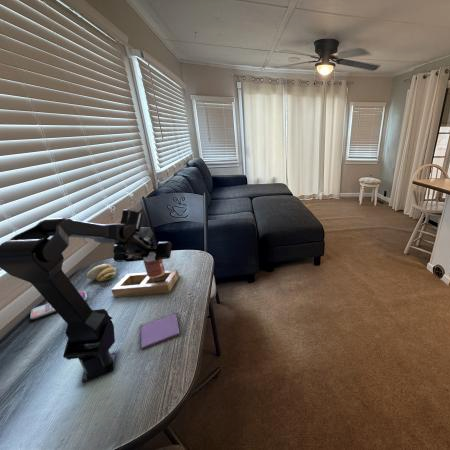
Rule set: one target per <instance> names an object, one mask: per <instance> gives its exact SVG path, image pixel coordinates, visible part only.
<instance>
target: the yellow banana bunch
mask: <svg viewBox="0 0 450 450" xmlns="http://www.w3.org/2000/svg"><path fill="white" fill-rule="evenodd" d="M116 270H117V268H116V267H115V266H112V265H111V264H108V263H104V264H99V265H97V266H94V267H92V268H91V269H89V271H88V272H87V274H86V277H87V279H88V280H96V281H97V282H103V281H107V280H111V279H113V278H114V277H115V276H116V275H117V274H116Z"/></svg>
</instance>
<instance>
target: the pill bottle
mask: <svg viewBox="0 0 450 450" xmlns="http://www.w3.org/2000/svg"><path fill="white" fill-rule="evenodd" d="M155 255H156V254H154V253H149V256H148V257H147V258H143V260H142V261H143V264H144V268H145V272H147V275H148V277H149V278H157V277H160V276H162V275H163V274H164V273H165V271H166V269H165V265H164V261H163V260H164V259H161V260H155Z"/></svg>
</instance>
